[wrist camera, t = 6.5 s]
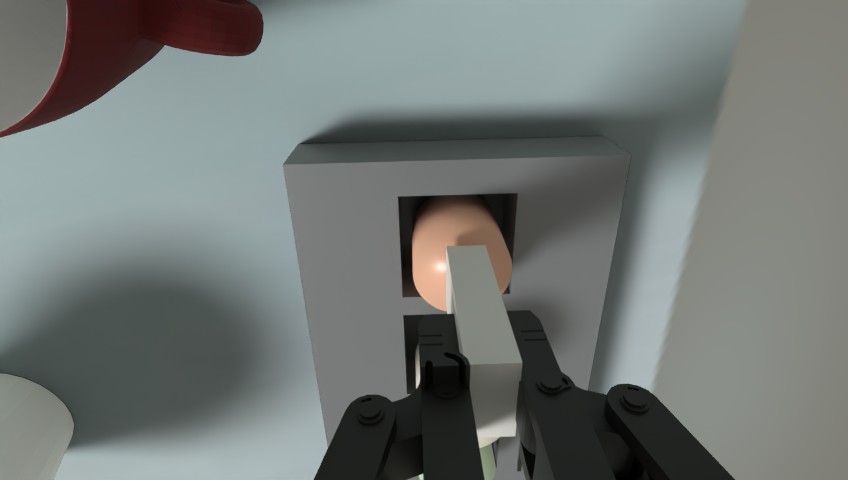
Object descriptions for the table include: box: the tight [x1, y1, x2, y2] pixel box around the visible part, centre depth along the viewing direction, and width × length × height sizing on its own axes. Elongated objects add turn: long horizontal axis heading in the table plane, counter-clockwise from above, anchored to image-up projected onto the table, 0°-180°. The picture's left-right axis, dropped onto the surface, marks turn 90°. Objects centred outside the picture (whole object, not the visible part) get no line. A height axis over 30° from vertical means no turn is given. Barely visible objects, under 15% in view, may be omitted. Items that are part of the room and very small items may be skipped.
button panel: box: [283, 136, 631, 480], centre depth 25 cm, size 20×14×3 cm
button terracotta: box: [412, 194, 512, 312], centre depth 21 cm, size 4×4×4 cm
